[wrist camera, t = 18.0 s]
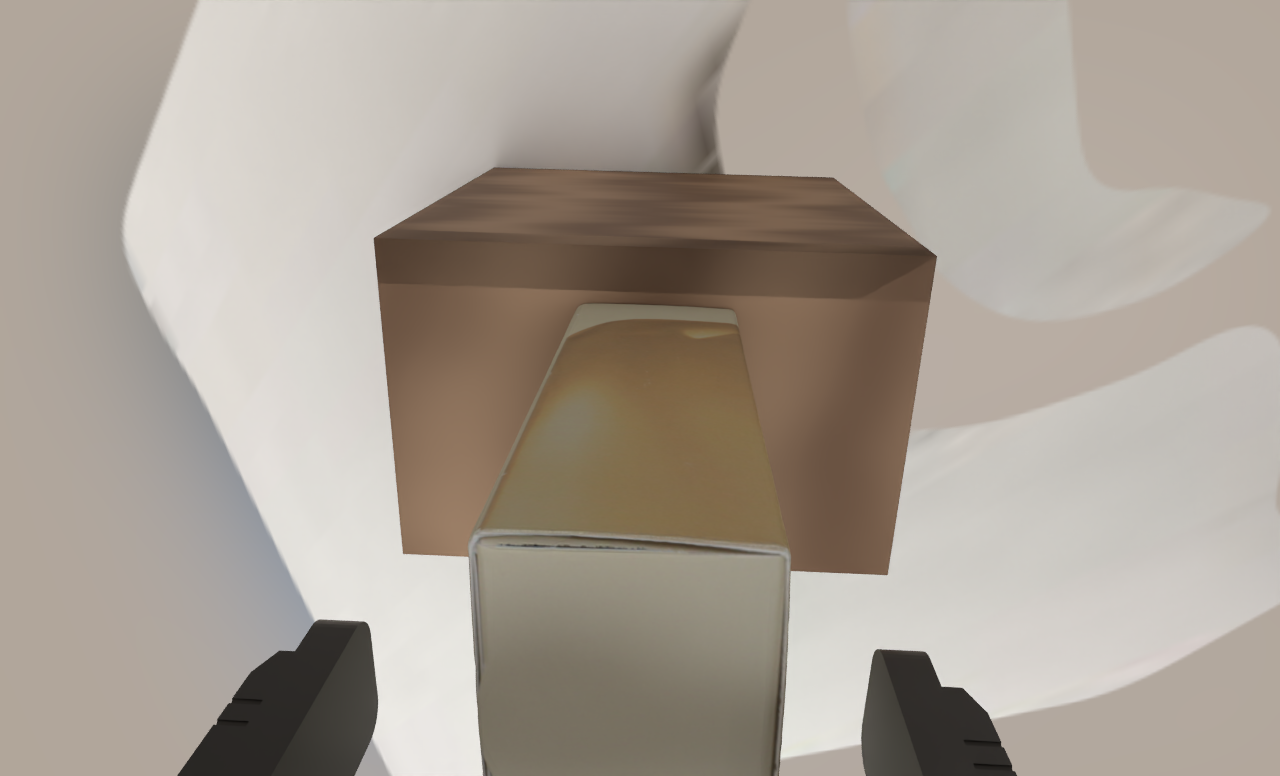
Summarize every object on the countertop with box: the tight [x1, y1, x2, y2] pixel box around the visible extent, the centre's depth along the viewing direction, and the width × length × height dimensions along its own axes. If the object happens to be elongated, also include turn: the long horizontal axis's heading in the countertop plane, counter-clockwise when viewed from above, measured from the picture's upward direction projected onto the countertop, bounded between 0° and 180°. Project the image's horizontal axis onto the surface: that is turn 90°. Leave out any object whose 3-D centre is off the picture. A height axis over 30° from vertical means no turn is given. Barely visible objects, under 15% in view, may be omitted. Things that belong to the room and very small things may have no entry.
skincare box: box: [468, 303, 791, 776], centre depth 17 cm, size 6×4×12 cm
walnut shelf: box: [374, 168, 937, 575], centre depth 30 cm, size 14×10×15 cm, turn 89°
